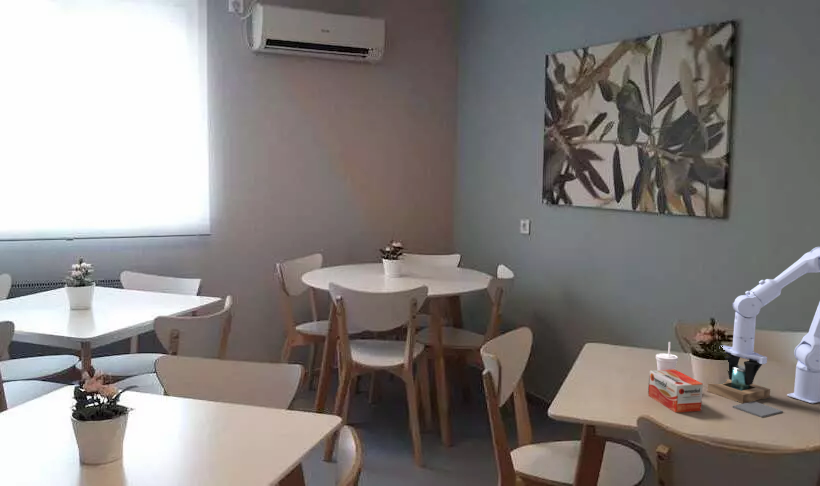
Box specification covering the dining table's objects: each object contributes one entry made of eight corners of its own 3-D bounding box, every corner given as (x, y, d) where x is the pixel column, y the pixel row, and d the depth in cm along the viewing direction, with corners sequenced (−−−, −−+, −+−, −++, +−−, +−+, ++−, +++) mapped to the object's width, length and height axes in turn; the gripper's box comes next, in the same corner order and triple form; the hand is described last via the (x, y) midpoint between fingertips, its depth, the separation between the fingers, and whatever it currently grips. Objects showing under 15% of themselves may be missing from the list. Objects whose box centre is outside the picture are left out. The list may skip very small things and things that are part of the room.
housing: (734, 385, 230) (734, 378, 230) (769, 397, 220) (770, 389, 220) (707, 391, 225) (708, 383, 224) (742, 403, 214) (743, 394, 214)
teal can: (738, 388, 226) (739, 364, 225) (752, 393, 222) (754, 368, 221) (726, 391, 223) (728, 366, 223) (741, 396, 219) (743, 371, 218)
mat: (753, 402, 215) (753, 401, 215) (782, 412, 207) (782, 410, 207) (732, 407, 211) (732, 405, 211) (761, 417, 203) (761, 415, 203)
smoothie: (677, 391, 224) (680, 345, 222) (655, 389, 225) (657, 343, 224) (674, 384, 230) (677, 340, 229) (652, 383, 232) (655, 338, 230)
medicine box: (647, 396, 220) (648, 369, 219) (672, 394, 221) (674, 368, 220) (675, 413, 205) (677, 385, 204) (702, 412, 207) (704, 384, 206)
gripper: (713, 332, 225) (710, 376, 226) (757, 343, 212) (753, 390, 214) (729, 330, 228) (726, 373, 230) (773, 341, 216) (769, 387, 217)
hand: (740, 381), depth 222 cm, fingers closed on teal can, 5 cm apart
